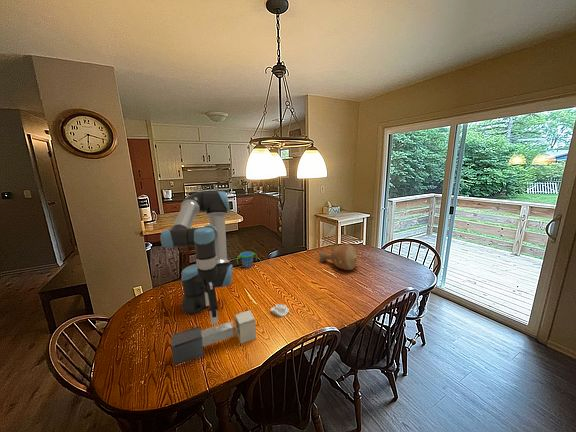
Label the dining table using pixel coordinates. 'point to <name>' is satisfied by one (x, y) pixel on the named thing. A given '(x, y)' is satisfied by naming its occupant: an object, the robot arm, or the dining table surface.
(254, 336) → the socket
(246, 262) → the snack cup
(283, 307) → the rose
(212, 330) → the pale grey rectangular box
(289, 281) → the dining table surface
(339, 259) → the jug
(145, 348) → the dining table surface
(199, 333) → the dark grey rectangular box
